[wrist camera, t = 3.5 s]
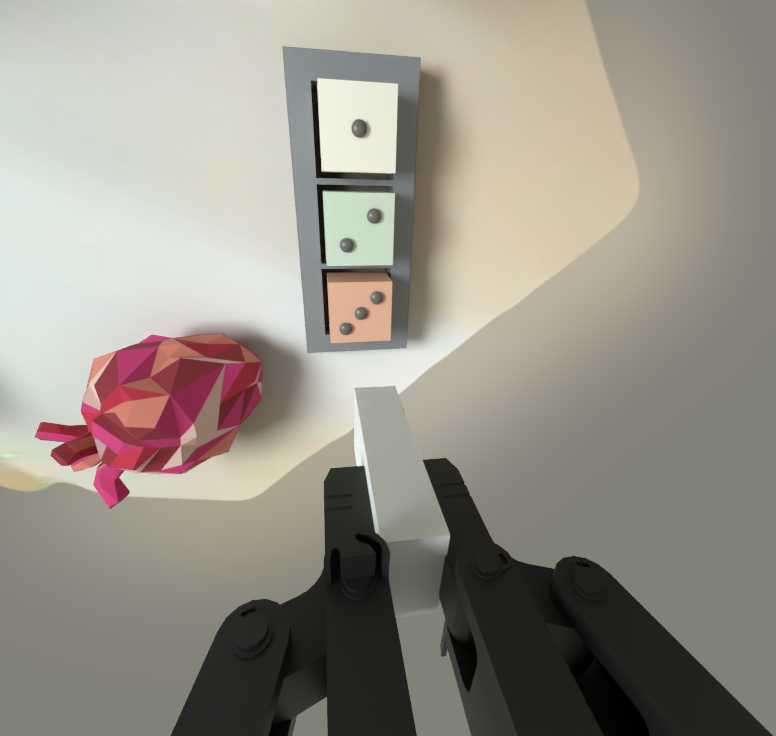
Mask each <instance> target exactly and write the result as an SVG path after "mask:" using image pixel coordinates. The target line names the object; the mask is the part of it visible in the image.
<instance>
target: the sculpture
mask: <svg viewBox="0 0 776 736" xmlns="http://www.w3.org/2000/svg"><path fill="white" fill-rule="evenodd" d="M261 399H262V361H261V360H260V358H259V357H258V356H257V355H255V354H254V353H252V352H251V351H249V350H248V349H246V348H245V347H243V346H242V345H240V344H239V343H237V342H235V341H234V340H232V339H230V338H228V337H227V336H225V335H223V334H212V335H194V336H187V337H179V338H169V337H163V336H157V335H151V336H149V337H148V338H146V339H145V340H143V341H142V342H140V343H139V344H135V345H132V346H129V347H126V348H123V349H121V350H118V351H115V352H112V353H110V354H107V355H104V356H101V357H98V358H96V359H94V360H93V364H92V369H91V373H90V377H89V381H88V385H87V389H86V392H85V395H84V398H83V401H82V407H81V413H82V415H83V417H84V419H85V422H86V424H87V425H75V426H67V425H60V424H54V423H47V422H42V423H40V425H39V428H38V430H37V433H36V435H35V437H36V438H38V439H40V440H47V441H58V442H66V443H64V444H62V445H60V446H58V447H56V448H54V449H53V450H52V452H51V457H53V458H54V459H55V460H56V461H57V462H58V463H59V464H60V465H61V466H69V465H71V467H72V469H73V471H74V472H76V471H81V470H84V469H87V468H90V467H93V466H95V465H97V464H98V463H100V462H101V461H102V463H101V464H100V465H99V466H98V467H97V471H96V476H95V480H94V484H93V485H94V486H95V488H96V489H97V491H98V492H99V494H100V495H101V497H102V498H103V500H104V501H105V503H106V504H107V506H108V507H109V509H111V508H112V507H113V506H115V505H116V504H118V503H119V502H120V501H121V500H123V499H124V498H125V497H126V496H127V495H128V494H129V493H130V492H129V490H128V489H127V487H126V486H125V485H124V484H123V482H122V481H121V480H120V478H119V477H120V475H121V474H122V473H123V472H124V470H125V471H129V472H133V473H149V474H182V473H186V472H187V471H189V470H191V469H192V468H194V467H196V466H197V465H199V464H201V463H202V462H204V461H206V460H207V459H209V458H211V457H213V456H216V455H220V454H223V453H226V452H229V449H230V447H231V445H232V442H233V440H234V437H235V435H236V433H237V430H238V428H239V426H240V424H241V423H242V422H243V421H244V420H245V419H246V418H247V417H248V416H249V415H250V413H251V412H252V411H253V409H254V408H255V407H256V405H257V404H258V403H259V401H260V400H261Z"/></svg>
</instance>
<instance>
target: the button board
mask: <svg viewBox="0 0 776 736" xmlns="http://www.w3.org/2000/svg"><path fill="white" fill-rule="evenodd" d="M282 48H283V60H284V72H285V84H286V96H287V108H288V121H289V133H290V145H291V157H292V169H293V181H294V194H295V206H296V218H297V230H298V242H299V254H300V266H301V279H302V291H303V303H304V315H305V327H306V339H307V352H308V353H315V352H336V351H356V350H377V349H397V348H406V343H407V323H408V303H409V283H410V263H411V243H412V223H413V203H414V183H415V163H416V143H417V122H418V102H419V82H420V62H421V58H419V57H407V56H394V55H382V54H370V53H358V52H346V51H333V50H321V49H309V48H297V47H285V46H282ZM317 78H322V79H337V80H351V81H365V82H380V83H394V84H398V103H397V137H396V172H395V173H393V174H388V180H372V179H334V178H316V165H315V148H314V130H313V113H312V95H311V88H314V89H317ZM317 184H325V185H368V186H388V192H391V193H395V207H394V242H393V265H369V266H327V262H326V258H321V253H320V235H319V218H318V200H317ZM359 268H386V274H387V275H388V276H389V278H390V279H391V280H392V311H391V341H369V342H347V343H331V339H330V328H329V325H325V322H324V305H323V288H322V270H321V269H359Z"/></svg>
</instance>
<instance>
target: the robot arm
mask: <svg viewBox="0 0 776 736" xmlns="http://www.w3.org/2000/svg"><path fill="white" fill-rule="evenodd" d="M354 429H355V430H354V431H355V432H354V434H355V435H354V437H355V439H354V440H355V442H354V445H355V446H354V448H355V456H356V463H357V466H355V467H343V468H331V469H330V471H329V473H328V475H327V477H326V479H325V481H324V510H325V511H324V515H325V556H324V569H323V571H322V574H321V576H320V577H319V579H318V580H317V582H316V583H315V584H314V585H313V586H312V587H311V588H310V589H309V590H308V591H306V592H304V593H303V594H301V595H299V596H298V597H296V598H294V599H291V600H289V601H287V602H285V603H283V604H281V605H280V604H278V603H277V602H274V601H271V600H267V599H261V600H252V601H250V602H248V603H246V604H243V605H241V606H239V607H238V608H237V609H236V610H234V611H233V612H232V613H231V614H230V615H229V616H228V617H227V618H226V619H225V621H224V622H223V624H222V625H221V627H220V628H219V630H218V632H217V634H216V636H215V638H214V641H213V643H212V645H211V647H210V649H209V652H208V654H207V656H206V658H205V661H204V663H203V665H202V667H201V670H200V672H199V674H198V676H197V678H196V681H195V683H194V685H193V687H192V690H191V692H190V694H189V696H188V698H187V701H186V703H185V705H184V707H183V710H182V712H181V714H180V716H179V718H178V721H177V723H176V726H175V727H174V730H173V732H172V734H171V736H292V734H293V730H294V726H295V721H296V716H297V715H298V714H299V713H301V712H303V711H305V710H306V709H307V708H309V707H311V706H312V705H314V704H316V703H317V702H319V701H320V700H322V699H324V698H325V697H327V716H328V736H417V735H416V729H415V724H414V718H413V712H412V707H411V701H410V696H409V690H408V684H407V679H406V673H405V668H404V662H403V657H402V651H401V645H400V640H399V634H398V629H397V623H396V618H400V617H407V616H414V615H420V614H426V613H433V612H438V606H439V600H440V601H441V604H442V608H443V611H444V615H445V623H444V629H443V635H442V640H441V645H440V646H441V656H446V652H447V648H448V652H449V655H450V659H451V663H452V666H453V670H454V674H455V677H456V681H457V684H458V688H459V692H460V696H461V699H462V703H463V706H464V710H465V714H466V718H467V721H468V725H469V729H470V732H471V736H772V734H770V733H769V731H767V730H766V729H765V728H764V727H763V726H762V725H761V724H760V723H759V722H758V721H757V720H756V719H755V718H754V717H753V716H752V715H751V714H750V713H749V712H748V711H747V710H746V709H745V708H744V707H743V706H742V705H741V704H740V703H739V702H738V701H737V700H736V699H735V698H734V697H733V696H732V695H731V694H730V693H729V692H728V691H727V690H726V689H725V688H724V687H723V686H722V685H721V684H720V683H719V682H718V681H717V680H716V679H715V678H714V677H713V676H712V675H711V674H710V673H709V672H708V671H707V670H706V669H705V668H704V667H703V666H702V665H701V664H700V663H699V662H698V661H697V660H696V659H695V658H694V657H693V656H692V655H691V654H690V653H689V652H688V651H687V650H686V649H685V648H684V647H683V646H682V645H681V644H680V643H679V642H678V641H677V640H676V639H675V638H674V637H673V636H672V635H671V634H670V633H669V632H668V631H667V630H666V629H665V628H664V627H663V626H662V625H661V624H660V623H659V622H658V621H657V620H656V619H655V618H654V617H653V616H651V614H650V613H649V612H648V611H647V610H646V609H645V608H644V607H643V606H642V605H641V604H640V603H639V602H638V601H637V600H636V599H635V598H634V597H633V596H632V595H631V594H630V593H629V592H628V591H627V590H626V589H625V588H624V587H623V586H622V585H621V584H619V582H618V581H617V580H616V579H615V578H614V577H613V576H612V575H611V574H610V573H608V572H607V571H606V570H605V569H603V568H602V567H601V566H600V565H598V564H596V563H594V562H592V561H590V560H588V559H586V558H581V557H576V556H571V557H565V558H563V559H561V560H560V561H559V562H558V563H557V564H556V567H555V569H552V568H547V567H541V566H536V565H531V564H526V563H523V562H519V561H517V560H515V559H513V558H511V556H510V555H509V553H508V552H507V551H505V550H504V549H503V548H501V547H500V546H499V545H497V544H495V543H494V542H493V540H492V538H491V537H490V535H489V533H488V530H487V528H486V527H485V524H484V522H483V520H482V518H481V516H480V514H479V512H478V510H477V508H476V506H475V504H474V502H473V499H472V498H471V496H470V494H469V491H468V489H467V487H466V485H464V481H463V479H462V477H461V475H460V473H459V471H458V469H457V468H456V467H455V466H454V465H453V464H452V463H450V461H448V460H447V459H446V458H441V459H429V460H422V457H421V455H420V452H419V449H418V447H417V444H416V441H415V439H414V436H413V433H412V431H411V428H410V425H409V423H408V420H407V418H406V414H405V412H404V409H403V407H402V404H401V401H400V399H399V396H398V393H397V390H396V388H395V386H388V387H365V388H355V412H354Z"/></svg>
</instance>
